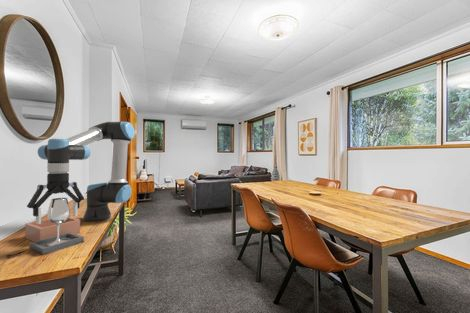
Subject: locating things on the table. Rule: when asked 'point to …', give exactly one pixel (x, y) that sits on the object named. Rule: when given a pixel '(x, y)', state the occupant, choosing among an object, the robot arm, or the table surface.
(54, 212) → the wineglass
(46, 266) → the table surface
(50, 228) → the holder
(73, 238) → the tray
